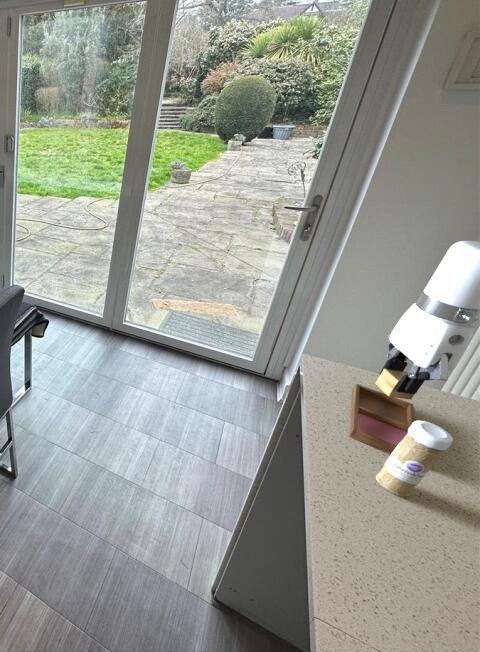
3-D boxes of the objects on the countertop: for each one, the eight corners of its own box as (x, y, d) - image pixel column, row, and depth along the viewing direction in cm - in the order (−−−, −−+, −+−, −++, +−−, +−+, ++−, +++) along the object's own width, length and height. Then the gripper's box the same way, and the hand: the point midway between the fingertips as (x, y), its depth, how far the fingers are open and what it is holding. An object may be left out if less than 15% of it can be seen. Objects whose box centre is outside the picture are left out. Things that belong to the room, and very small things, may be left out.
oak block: (396, 386, 85) (406, 371, 83) (411, 399, 82) (421, 384, 80) (374, 383, 86) (384, 368, 84) (388, 396, 82) (398, 381, 81)
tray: (408, 411, 87) (413, 404, 86) (413, 464, 75) (419, 456, 74) (352, 390, 92) (356, 383, 91) (348, 436, 80) (353, 429, 79)
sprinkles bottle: (382, 492, 70) (423, 436, 64) (369, 470, 73) (407, 415, 67) (416, 502, 68) (461, 445, 62) (402, 479, 72) (443, 424, 66)
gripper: (515, 336, 67) (452, 418, 75) (434, 288, 81) (389, 361, 90) (460, 330, 68) (404, 411, 76) (391, 284, 83) (350, 356, 91)
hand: (396, 383), depth 83 cm, fingers closed on oak block, 3 cm apart
